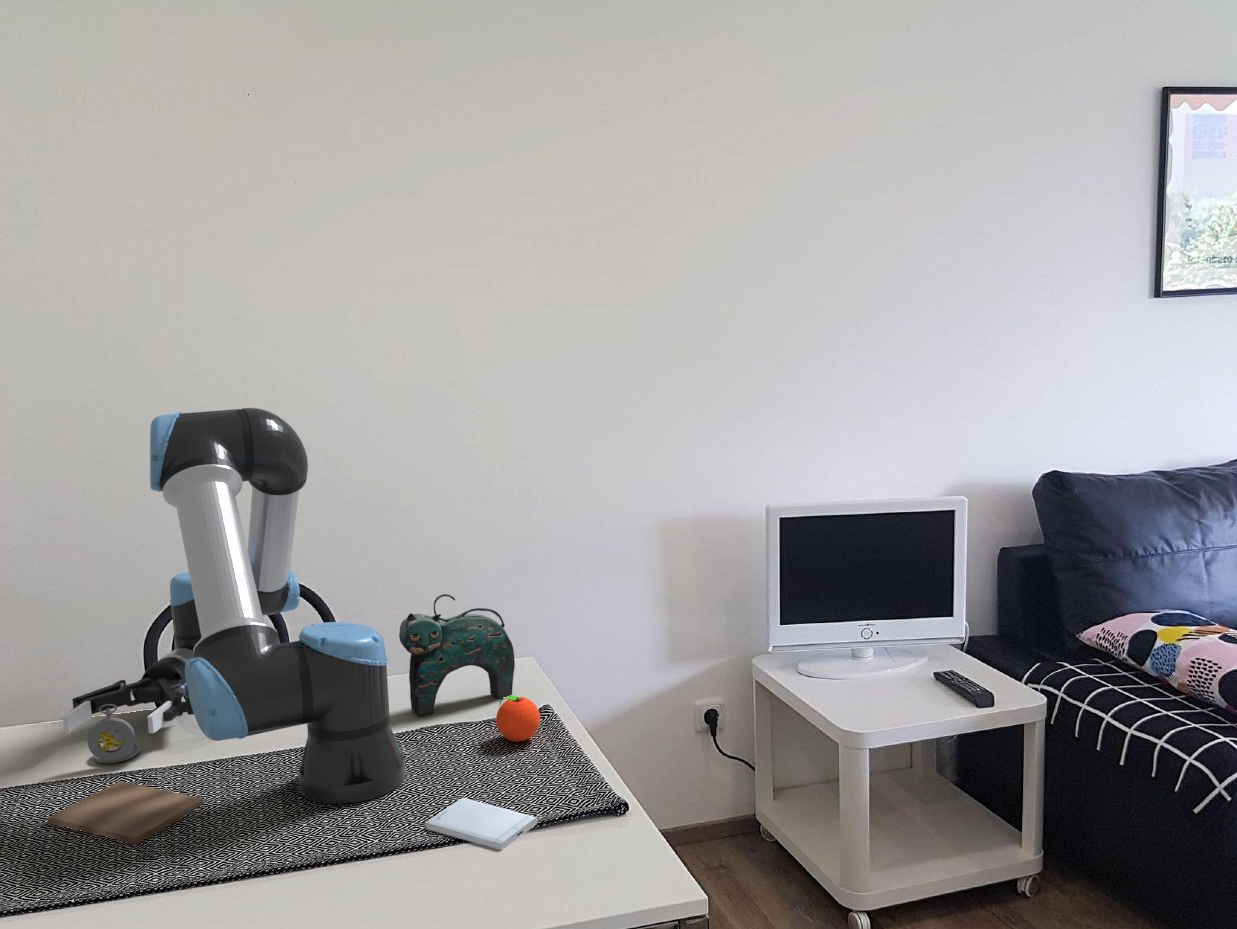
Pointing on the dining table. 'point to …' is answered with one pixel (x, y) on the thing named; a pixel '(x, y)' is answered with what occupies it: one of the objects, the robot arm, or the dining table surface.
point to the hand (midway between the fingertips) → (107, 725)
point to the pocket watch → (112, 739)
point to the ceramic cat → (455, 653)
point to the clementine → (517, 718)
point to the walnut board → (126, 812)
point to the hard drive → (481, 823)
